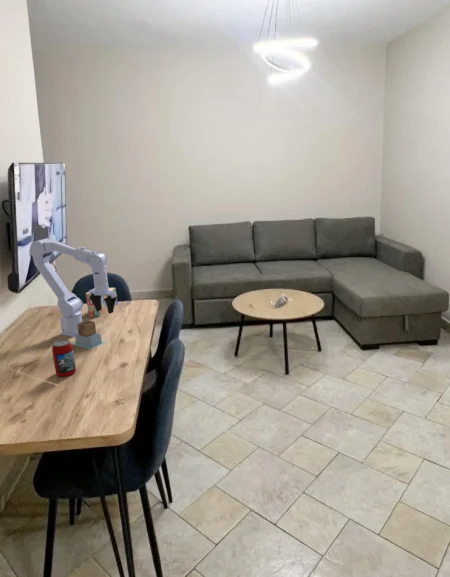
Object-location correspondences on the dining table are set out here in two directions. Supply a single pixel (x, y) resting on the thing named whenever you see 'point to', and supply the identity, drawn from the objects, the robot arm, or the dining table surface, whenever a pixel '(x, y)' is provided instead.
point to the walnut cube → (86, 328)
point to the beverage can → (63, 358)
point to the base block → (88, 340)
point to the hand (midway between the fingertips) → (104, 311)
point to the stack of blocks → (104, 309)
